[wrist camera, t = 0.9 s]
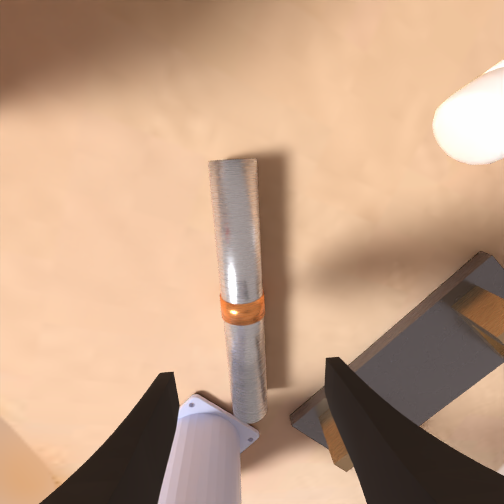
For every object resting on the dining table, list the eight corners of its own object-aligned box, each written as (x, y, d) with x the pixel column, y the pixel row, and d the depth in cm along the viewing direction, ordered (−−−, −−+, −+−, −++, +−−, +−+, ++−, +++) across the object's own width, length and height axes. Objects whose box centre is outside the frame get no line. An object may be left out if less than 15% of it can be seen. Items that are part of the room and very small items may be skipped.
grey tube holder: (356, 459, 28) (381, 519, 23) (289, 416, 25) (302, 473, 21) (538, 320, 24) (614, 359, 19) (480, 251, 21) (551, 276, 16)
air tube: (268, 391, 24) (269, 424, 21) (233, 391, 24) (229, 424, 21) (258, 158, 18) (257, 158, 15) (211, 161, 18) (201, 161, 15)
